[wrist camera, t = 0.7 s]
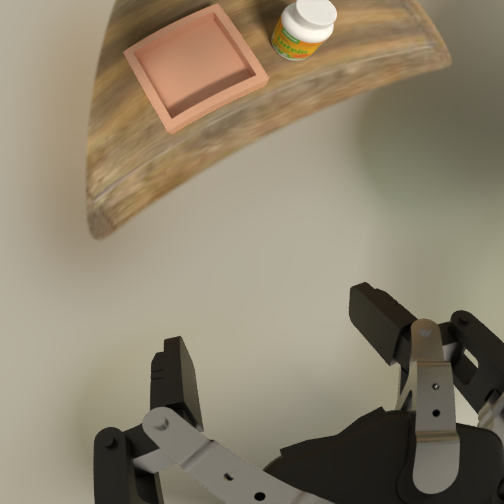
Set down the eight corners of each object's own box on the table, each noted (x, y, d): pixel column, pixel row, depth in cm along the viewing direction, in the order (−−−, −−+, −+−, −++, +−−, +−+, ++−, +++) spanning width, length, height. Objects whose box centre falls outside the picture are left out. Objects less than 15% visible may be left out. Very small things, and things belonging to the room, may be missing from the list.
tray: (130, 59, 24) (122, 52, 21) (218, 14, 23) (217, 3, 20) (172, 133, 28) (167, 131, 25) (265, 85, 27) (269, 79, 24)
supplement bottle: (264, 51, 25) (280, 15, 16) (278, 20, 24) (297, -19, 15) (306, 68, 26) (336, 40, 17) (318, 37, 25) (349, 4, 16)
